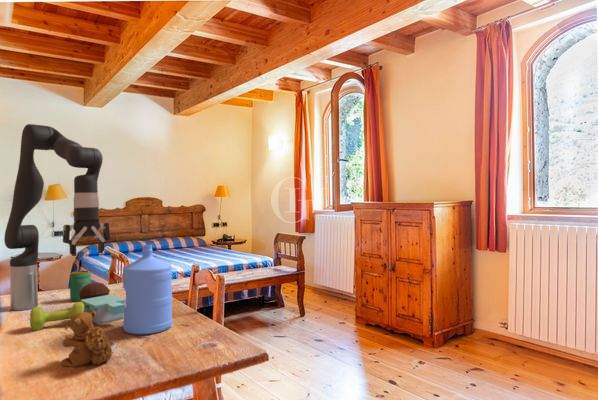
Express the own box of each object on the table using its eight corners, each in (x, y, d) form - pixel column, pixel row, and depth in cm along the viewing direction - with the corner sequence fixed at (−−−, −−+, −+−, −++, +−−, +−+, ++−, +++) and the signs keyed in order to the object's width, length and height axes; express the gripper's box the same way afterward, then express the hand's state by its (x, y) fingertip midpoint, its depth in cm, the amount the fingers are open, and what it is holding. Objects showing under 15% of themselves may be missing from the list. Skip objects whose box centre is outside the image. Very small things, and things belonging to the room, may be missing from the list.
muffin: (112, 309, 165) (112, 284, 165) (81, 314, 158) (80, 287, 158) (107, 303, 174) (106, 279, 174) (77, 307, 168) (76, 282, 168)
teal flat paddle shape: (80, 307, 152) (80, 299, 152) (110, 301, 160) (110, 294, 160) (103, 317, 140) (103, 308, 140) (134, 310, 148) (134, 302, 148)
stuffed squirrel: (87, 351, 120) (86, 306, 119) (124, 358, 114) (123, 310, 114) (54, 364, 110) (54, 315, 110) (93, 373, 105) (93, 321, 105)
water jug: (182, 324, 145) (181, 243, 144) (148, 338, 130) (147, 248, 130) (148, 318, 151) (147, 241, 151) (112, 331, 137) (111, 246, 137)
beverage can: (87, 296, 186) (87, 269, 186) (93, 299, 180) (93, 272, 180) (68, 299, 181) (67, 272, 181) (73, 303, 175) (72, 274, 175)
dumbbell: (29, 333, 136) (29, 311, 136) (30, 327, 143) (30, 306, 143) (85, 325, 145) (85, 304, 145) (84, 319, 152) (84, 299, 151)
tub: (83, 318, 153) (83, 301, 153) (108, 312, 160) (108, 297, 159) (97, 324, 145) (97, 307, 145) (123, 318, 152) (122, 302, 152)
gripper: (103, 206, 148) (104, 251, 148) (59, 207, 138) (60, 256, 138) (112, 205, 143) (113, 252, 143) (67, 206, 133) (68, 257, 133)
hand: (87, 254), depth 141 cm, fingers open, 8 cm apart
